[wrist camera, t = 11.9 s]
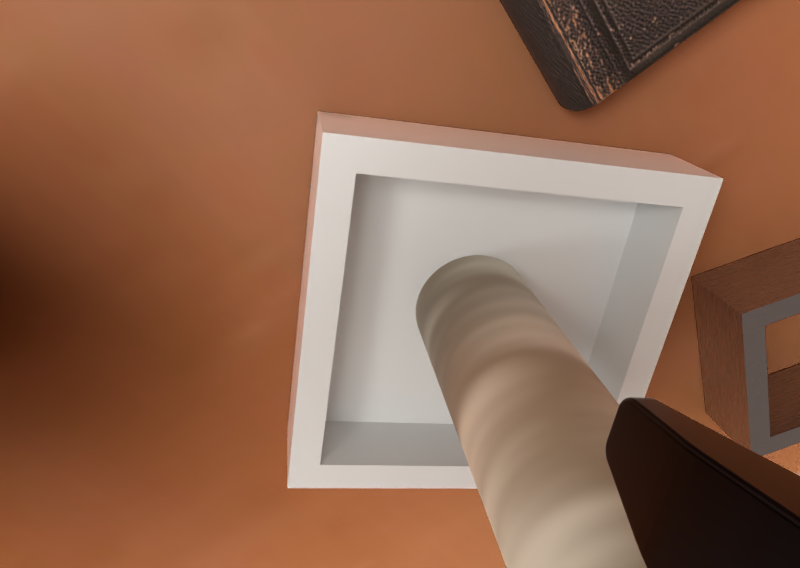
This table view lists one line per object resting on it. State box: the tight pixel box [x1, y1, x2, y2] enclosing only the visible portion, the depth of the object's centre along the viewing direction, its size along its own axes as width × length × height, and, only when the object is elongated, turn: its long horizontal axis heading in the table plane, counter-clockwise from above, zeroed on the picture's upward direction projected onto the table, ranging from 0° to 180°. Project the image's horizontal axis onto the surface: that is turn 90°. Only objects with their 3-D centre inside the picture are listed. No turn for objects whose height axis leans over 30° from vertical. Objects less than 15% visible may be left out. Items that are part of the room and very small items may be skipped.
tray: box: [287, 111, 723, 489], centre depth 22 cm, size 12×12×3 cm
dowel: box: [415, 255, 647, 568], centre depth 17 cm, size 4×4×13 cm
